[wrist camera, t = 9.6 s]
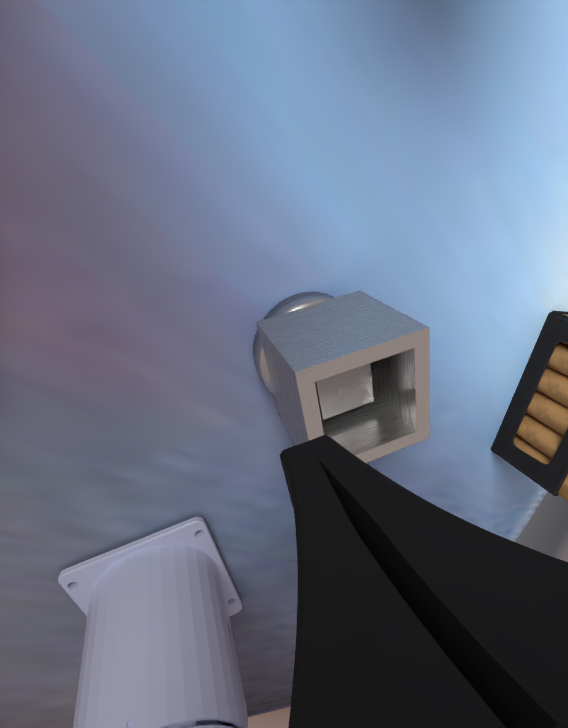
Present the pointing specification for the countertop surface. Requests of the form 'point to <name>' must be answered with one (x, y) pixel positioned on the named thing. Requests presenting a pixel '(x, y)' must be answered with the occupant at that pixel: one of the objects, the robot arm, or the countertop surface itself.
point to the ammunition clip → (541, 412)
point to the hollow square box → (345, 352)
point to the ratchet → (331, 391)
